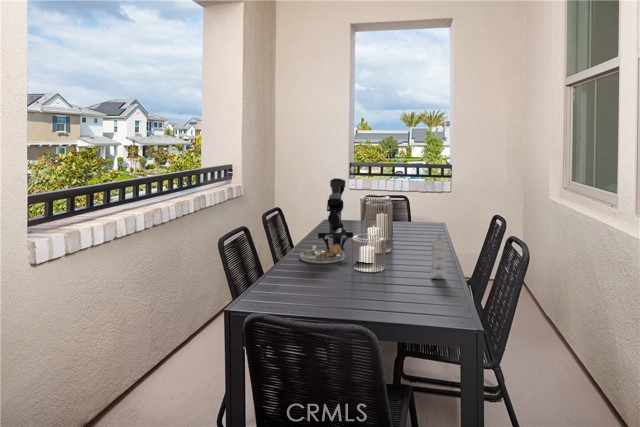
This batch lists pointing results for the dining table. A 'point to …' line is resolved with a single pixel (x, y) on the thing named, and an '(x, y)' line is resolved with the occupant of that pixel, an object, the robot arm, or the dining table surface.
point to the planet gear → (334, 249)
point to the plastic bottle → (438, 257)
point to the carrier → (321, 256)
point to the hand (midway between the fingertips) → (334, 250)
